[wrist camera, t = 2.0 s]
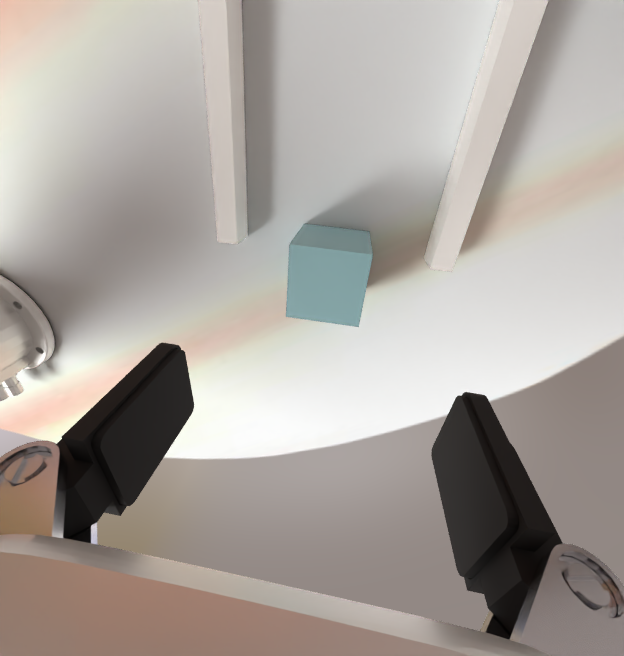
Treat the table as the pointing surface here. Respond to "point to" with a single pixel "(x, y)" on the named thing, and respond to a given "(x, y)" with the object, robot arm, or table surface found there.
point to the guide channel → (471, 151)
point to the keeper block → (328, 274)
